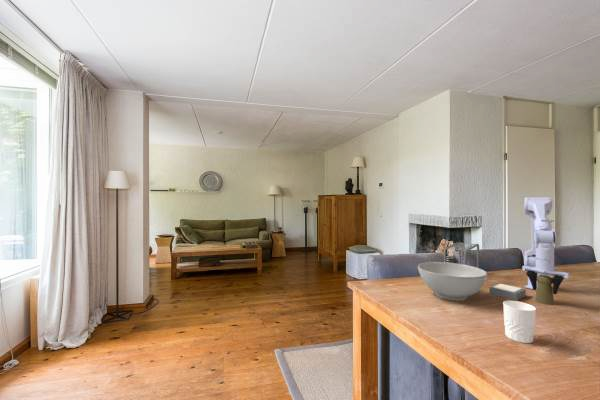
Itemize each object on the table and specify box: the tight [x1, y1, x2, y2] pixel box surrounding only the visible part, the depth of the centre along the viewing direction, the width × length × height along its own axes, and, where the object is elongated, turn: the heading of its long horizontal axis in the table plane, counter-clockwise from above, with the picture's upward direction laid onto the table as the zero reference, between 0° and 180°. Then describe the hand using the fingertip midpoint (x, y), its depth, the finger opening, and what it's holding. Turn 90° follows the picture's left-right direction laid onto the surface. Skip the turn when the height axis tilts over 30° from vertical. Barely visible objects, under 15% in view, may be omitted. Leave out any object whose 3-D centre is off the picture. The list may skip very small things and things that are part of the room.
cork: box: [534, 275, 555, 306], centre depth 112 cm, size 6×6×11 cm
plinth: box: [489, 283, 527, 301], centre depth 121 cm, size 10×10×3 cm
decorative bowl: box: [417, 261, 488, 302], centre depth 119 cm, size 27×27×12 cm
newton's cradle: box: [443, 241, 480, 269], centre depth 148 cm, size 30×10×18 cm, turn 136°
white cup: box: [502, 300, 537, 344], centre depth 83 cm, size 8×8×10 cm
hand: (544, 291), depth 112 cm, fingers open, 6 cm apart
